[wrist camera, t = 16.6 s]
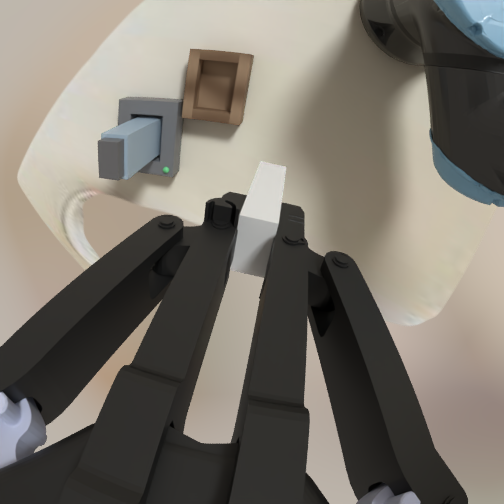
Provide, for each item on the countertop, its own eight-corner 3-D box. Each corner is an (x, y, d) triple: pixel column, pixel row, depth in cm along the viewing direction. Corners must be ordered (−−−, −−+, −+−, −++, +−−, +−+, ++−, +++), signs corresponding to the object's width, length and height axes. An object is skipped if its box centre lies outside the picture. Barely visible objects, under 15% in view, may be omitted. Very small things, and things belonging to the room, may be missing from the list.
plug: (141, 115, 42) (94, 136, 31) (164, 117, 42) (121, 138, 31) (140, 149, 45) (96, 180, 34) (162, 152, 45) (122, 184, 34)
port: (128, 96, 40) (118, 99, 38) (185, 100, 40) (177, 102, 38) (126, 163, 47) (117, 170, 45) (178, 170, 47) (171, 177, 45)
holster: (196, 49, 35) (190, 48, 33) (253, 55, 35) (251, 54, 33) (188, 114, 42) (181, 117, 39) (242, 121, 42) (239, 125, 39)
